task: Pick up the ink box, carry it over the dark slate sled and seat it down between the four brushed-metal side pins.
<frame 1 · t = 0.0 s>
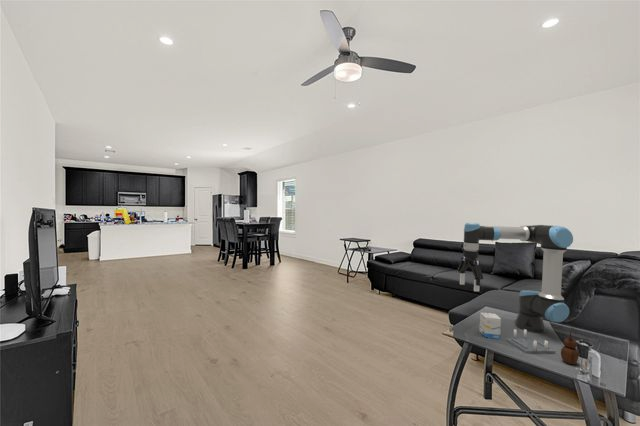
hand: (469, 287, 160), 28 cm above the table, fingers open, 13 cm apart
ink box: (489, 335, 164), on the table
wooden figurine: (569, 362, 136), on the table
sled: (529, 346, 151), on the table
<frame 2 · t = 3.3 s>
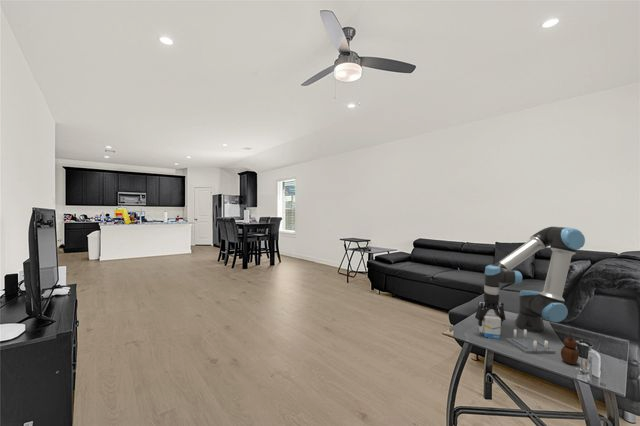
hand: (489, 331, 164), 2 cm above the table, fingers closed on ink box, 9 cm apart
ink box: (489, 335, 164), on the table, touching gripper
everything else where it was.
when the fingers open (5 cm above the table, at t = 9.2 s): ink box drops 2 cm, resting on sled.
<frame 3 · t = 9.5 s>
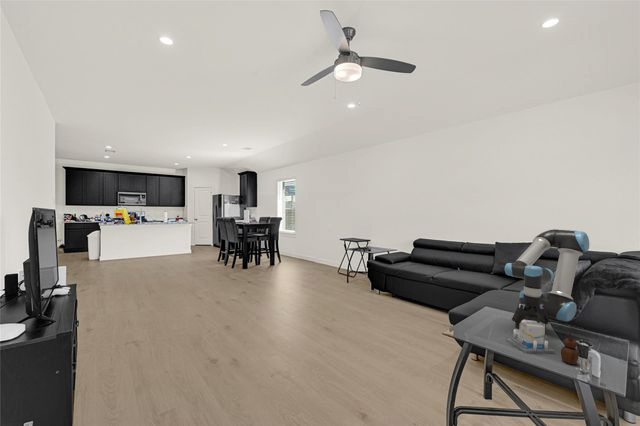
hand: (530, 335, 151), 6 cm above the table, fingers open, 12 cm apart
ink box: (530, 344, 151), point 1 cm above the table, touching sled
everything else where it was.
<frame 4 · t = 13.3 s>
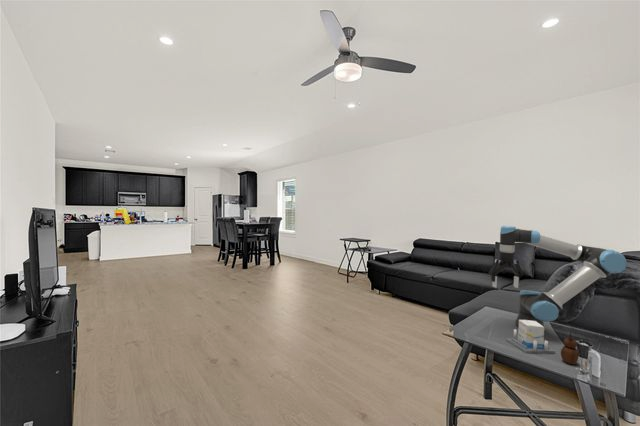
hand: (505, 287, 169), 27 cm above the table, fingers open, 13 cm apart
nothing on the table moved.
at the end: ink box 0.3 cm off-centre on the sled, point 1.0 cm above the sled's base; ink box tilted 0°; the gripper is holding nothing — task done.
